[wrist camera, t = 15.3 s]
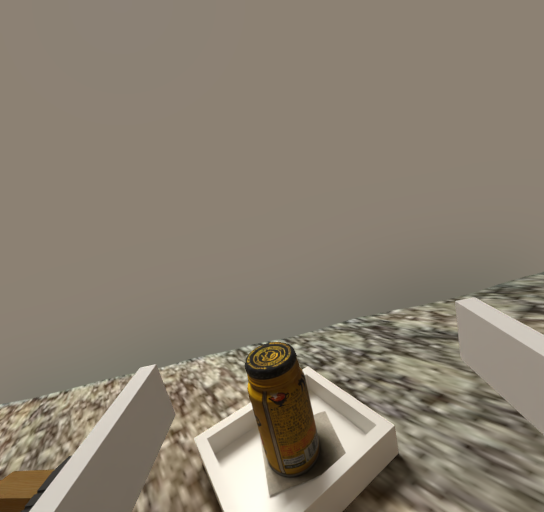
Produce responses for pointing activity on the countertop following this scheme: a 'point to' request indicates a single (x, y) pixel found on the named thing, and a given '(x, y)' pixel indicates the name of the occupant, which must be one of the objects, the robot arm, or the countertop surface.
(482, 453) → the countertop surface
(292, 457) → the condiment
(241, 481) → the tray
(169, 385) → the countertop surface
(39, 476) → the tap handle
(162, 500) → the countertop surface
